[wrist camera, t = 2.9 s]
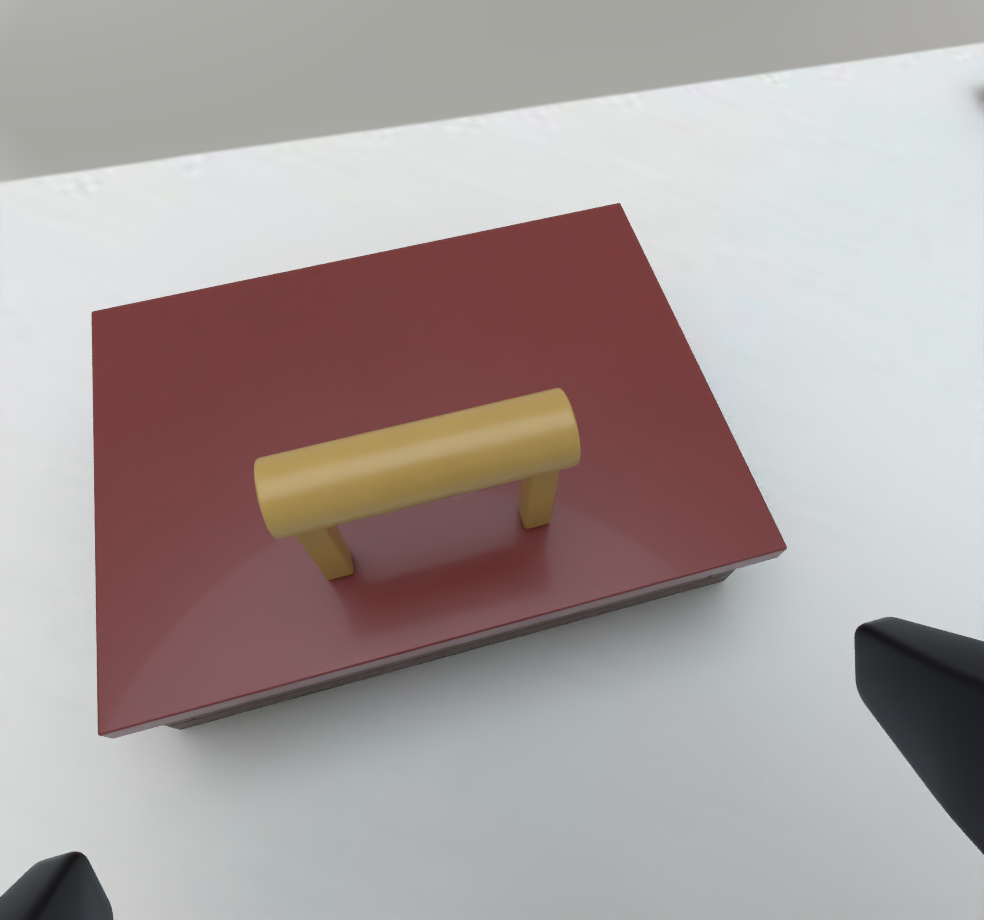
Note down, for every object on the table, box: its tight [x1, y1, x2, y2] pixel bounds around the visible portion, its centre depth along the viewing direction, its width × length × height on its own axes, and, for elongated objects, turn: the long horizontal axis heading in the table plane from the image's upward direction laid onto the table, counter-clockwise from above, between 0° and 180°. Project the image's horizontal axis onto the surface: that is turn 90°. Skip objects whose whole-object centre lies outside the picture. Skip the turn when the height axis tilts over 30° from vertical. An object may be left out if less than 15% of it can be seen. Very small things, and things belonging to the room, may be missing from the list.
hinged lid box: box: [164, 569, 735, 729], centre depth 22 cm, size 12×17×4 cm
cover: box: [92, 203, 787, 738], centre depth 17 cm, size 12×17×6 cm
